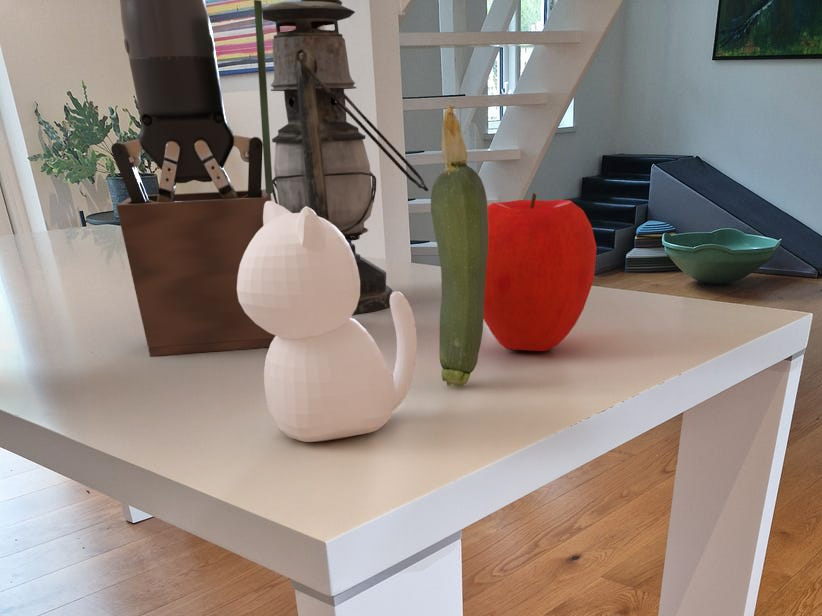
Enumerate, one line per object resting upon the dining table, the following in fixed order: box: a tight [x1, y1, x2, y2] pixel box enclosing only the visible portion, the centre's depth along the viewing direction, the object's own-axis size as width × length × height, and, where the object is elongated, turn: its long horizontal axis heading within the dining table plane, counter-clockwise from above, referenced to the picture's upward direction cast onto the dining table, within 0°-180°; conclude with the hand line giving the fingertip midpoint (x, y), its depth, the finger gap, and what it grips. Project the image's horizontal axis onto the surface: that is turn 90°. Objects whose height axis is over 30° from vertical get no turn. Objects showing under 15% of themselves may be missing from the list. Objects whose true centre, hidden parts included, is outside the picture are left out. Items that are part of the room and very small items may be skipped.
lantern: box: [262, 0, 429, 315], centre depth 97 cm, size 19×19×30 cm
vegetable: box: [430, 105, 489, 387], centre depth 67 cm, size 4×4×20 cm
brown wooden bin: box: [115, 188, 276, 357], centre depth 87 cm, size 14×11×13 cm
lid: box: [253, 0, 274, 194], centre depth 80 cm, size 14×11×1 cm
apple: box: [483, 192, 598, 352], centre depth 79 cm, size 12×12×13 cm
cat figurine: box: [237, 200, 418, 443], centre depth 60 cm, size 9×12×15 cm
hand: (208, 258), depth 86 cm, fingers closed on supplement bottle, 5 cm apart
